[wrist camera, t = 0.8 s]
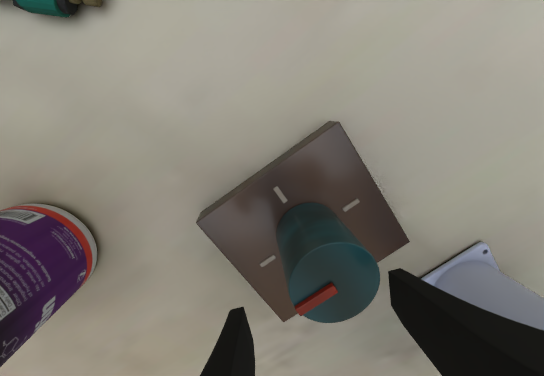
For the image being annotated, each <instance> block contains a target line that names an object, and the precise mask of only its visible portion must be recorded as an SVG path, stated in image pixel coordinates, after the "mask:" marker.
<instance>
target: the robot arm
mask: <svg viewBox="0 0 544 376" xmlns="http://www.w3.org/2000/svg"><path fill="white" fill-rule="evenodd" d="M388 274H389V286H390V298H391V306H392V308H393V309H394V311H395V313H396V314H397V316H398V318H399V319H400V321H401V322H402V324H403V326H404V327H405V328H406V330H407V331H408V332H409V334H410V335H411V336H412V337H413V339H414V340H415V341H416V343H417V344H418V345H419V346H420V348H421V349H422V350H423V352H424V353H425V354H426V355H427V357H428V358H429V359H430V361H431V362H432V363H433V364H434V366H435V367H436V368H437V370H438V371H439V372H440V374H441V375H442V376H544V298H543V297H541V296H540V295H538V294H536V293H535V292H533V291H531V290H530V289H528V288H526V287H525V286H523V285H522V284H520V283H518V282H517V281H515V280H513V279H512V278H510V277H509V276H507V275H505V274H504V273H502V272H500V270H499V268H498V266H497V264H496V262H495V259H494V257H493V255H492V253H491V251H490V249H489V247H488V245H487V244H486V243H484V242H479V243H477V244H476V245H474V246H472V247H471V248H469V249H467V250H466V251H464V252H463V253H461V254H459V255H458V256H456V257H455V258H453V259H451V260H450V261H448V262H447V263H445V264H443V265H442V266H440V267H439V268H437V269H435V270H434V271H432V272H431V273H429V274H427V275H426V276H424V277H422V278H421V279H420V278H418V277H416V276H414V275H412V274H410V273H409V272H407V271H405V270H403V269H401V268H400V269H395V270H391V271H388ZM200 376H255V356H254V344H253V338H252V334H251V331H250V327H249V324H248V321H247V317H246V314H245V310H244V307H240V308H236V309H232V310H230V312H229V314H228V317H227V319H226V322H225V325H224V327H223V329H222V332H221V334H220V336H219V339H218V341H217V343H216V345H215V347H214V349H213V352H212V354H211V356H210V358H209V359H208V361H207V363H206V365H205V367H204V369H203V371H202V373H201V375H200Z"/></svg>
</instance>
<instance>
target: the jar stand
mask: <svg viewBox="0 0 544 376" xmlns="http://www.w3.org/2000/svg"><path fill="white" fill-rule="evenodd" d="M304 203H318V204H322V205H324V206H326V207H328V208H330V209H331V210H332V211H333V212H334V213H335V214H336V215H337V216H338V218H339V219H340V220H341V221H342V222H343V223H344V224H345V225H346V226H347V228H348V229H349V230H350V231H351V232H352V233H353V234H354V235H355V237H356V238H357V239H358V240H359V241H360V242H361V243H362V244H363V246H364V247H365V248H366V249H367V250H368V251H369V252H370V253H371V255H372V256H373V257H374V258H375V260H376V262H379V261H380V260H382V259H384V258H385V257H387V256H388V255H390V254H391V253H393V252H395V251H396V250H398V249H399V248H401V247H402V246H404V245H405V244H407V243H409V242H410V241H409V239H408V238H407V236H406V234H405V233H404V231H403V229H402V228H401V226H400V224H399V222H398V221H397V219H396V217H395V216H394V214H393V212H392V211H391V209H390V207H389V206H388V204H387V202H386V200H385V199H384V197H383V195H382V194H381V192H380V190H379V189H378V187H377V185H376V183H375V182H374V180H373V178H372V177H371V175H370V173H369V172H368V170H367V168H366V167H365V165H364V163H363V161H362V160H361V158H360V156H359V155H358V153H357V151H356V150H355V148H354V146H353V145H352V143H351V141H350V139H349V138H348V136H347V134H346V133H345V131H344V129H343V128H342V126H341V124H340V122H334V121H329V122H328V123H326V124H325V125H324V126H322V127H321V128H319V129H318V130H316V131H315V132H314V133H312V134H311V135H309V136H308V137H307V138H305V139H304V140H302V141H301V142H300V143H298V144H297V145H295V146H294V147H293V148H291V149H290V150H288V151H287V152H285V153H284V154H283V155H281V156H280V157H278V158H277V159H276V160H274V161H273V162H271V163H270V164H269V165H267V166H266V167H264V168H263V169H262V170H260V171H259V172H257V173H256V174H254V175H253V176H252V177H250V178H249V179H247V180H246V181H245V182H243V183H242V184H240V185H239V186H238V187H236V188H235V189H233V190H232V191H231V192H229V193H228V194H226V195H225V196H223V197H222V198H221V199H219V200H218V201H216V202H215V203H214V204H212V205H211V206H209V207H208V208H207V209H205V210H204V211H202V212H201V214H200V216H199V218H198V220H197V222H196V223H197V225H198V226H199V227H200V228H201V229H202V230H203V231H204V233H205V234H206V235H207V236H208V237H209V238H210V239H211V240H212V242H213V243H214V244H215V245H216V246H217V247H218V248H219V250H220V251H221V252H222V253H223V254H224V255H225V256H226V258H227V259H228V260H229V261H230V262H231V263H232V264H233V265H234V267H235V268H236V269H237V270H238V271H239V272H240V273H241V275H242V276H243V277H244V278H245V279H246V280H247V281H248V282H249V284H250V285H251V286H252V287H253V288H254V289H255V290H256V292H257V293H258V294H259V295H260V296H261V297H262V298H263V299H264V301H265V302H266V303H267V304H268V305H269V306H270V307H271V309H272V310H273V311H274V312H275V313H276V314H277V315H278V317H279V318H280V319H281V320H282V321H283V322H285V321H287V320H288V319H290V318H291V317H293V316H294V315H296V314H298V313H297V311H296V310H295V307H294V305H293V304H292V302H291V300H290V297H289V293H288V288H287V284H286V279H285V275H284V270H283V266H282V261H281V257H280V252H279V248H278V243H277V238H276V232H277V227H278V224H279V222H280V220H281V218H282V217H283V216H284V215H285V214H286V213H287V212H288V211H289V210H290V209H292V208H293V207H295V206H297V205H300V204H304Z"/></svg>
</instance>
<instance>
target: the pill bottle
mask: <svg viewBox="0 0 544 376" xmlns="http://www.w3.org/2000/svg"><path fill="white" fill-rule="evenodd" d="M96 261H97V247H96V244H95V241H94V238H93V236H92V234H91V233H90V231H89V230H88V228H87V227H86V226H85V225H84V224H83V223H82V222H81V221H80V220H79V219H77V218H76V217H75V216H73V215H72V214H70V213H68V212H67V211H64V210H62V209H60V208H57V207H54V206H50V205H45V204H22V205H17V206H13V207H10V208H7V209H4V210H1V211H0V367H1V366H2V365H3V364H4V363H5V362H6V361H7V360H8V359H9V358H10V357H11V356H12V355H13V354H14V353H15V352H16V351H17V350H18V349H19V348H20V347H21V346H22V345H23V344H24V343H25V342H26V341H27V340H28V339H29V338H30V337H31V336H32V335H33V334H34V333H35V332H36V331H37V330H38V329H39V328H40V327H41V326H42V325H43V324H44V323H45V322H46V321H47V320H48V319H49V318H50V317H51V316H52V315H53V314H54V313H55V312H56V311H57V310H58V309H59V308H60V307H61V306H62V305H63V304H64V303H65V302H66V301H67V300H68V299H69V298H70V297H71V296H72V295H73V294H74V293H75V292H76V291H77V290H78V289H79V288H80V287H81V286H82V285H83V284H84V283H85V282H86V281H87V280H88V278H89V277H90V276H91V274H92V272H93V270H94V268H95V265H96Z"/></svg>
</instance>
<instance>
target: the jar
mask: <svg viewBox="0 0 544 376" xmlns="http://www.w3.org/2000/svg"><path fill="white" fill-rule="evenodd" d="M276 238H277V243H278V248H279V252H280V257H281V261H282V266H283V270H284V275H285V279H286V284H287V288H288V293H289V297H290V300H291V302H292V304H293V305H294V307H295V310H296V311H297V313H298V314H299V315H300V316H302V315H303V316H305V317H307V318H308V319H311V320H313V321H317V322H322V323H336V322H341V321H344V320H347V319H350V318H352V317H354V316H356V315H357V314H359V313H360V312H362V311H363V310H364V309H365V308H366V307H367V306H368V305H369V304H370V303H371V302H372V300H373V299H374V297H375V295H376V293H377V291H378V288H379V283H380V272H379V267H378V264H377V262H376V260H375V258H374V257H373V256H372V255H371V253H370V252H369V251H368V250H367V249H366V248H365V247H364V246H363V244H362V243H361V242H360V241H359V240H358V239H357V238H356V237H355V235H354V234H353V233H352V232H351V231H350V230H349V229H348V228H347V226H346V225H345V224H344V223H343V222H342V221H341V220H340V219H339V218H338V216H337V215H336V214H335V213H334V212H333V211H332V210H331V209H330V208H328V207H326V206H324V205H322V204H318V203H304V204H300V205H297V206H295V207H293V208H292V209H290V210H289V211H288V212H287V213H286V214H285V215H284V216H283V217H282V218H281V220H280V222H279V224H278V227H277V232H276Z"/></svg>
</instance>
